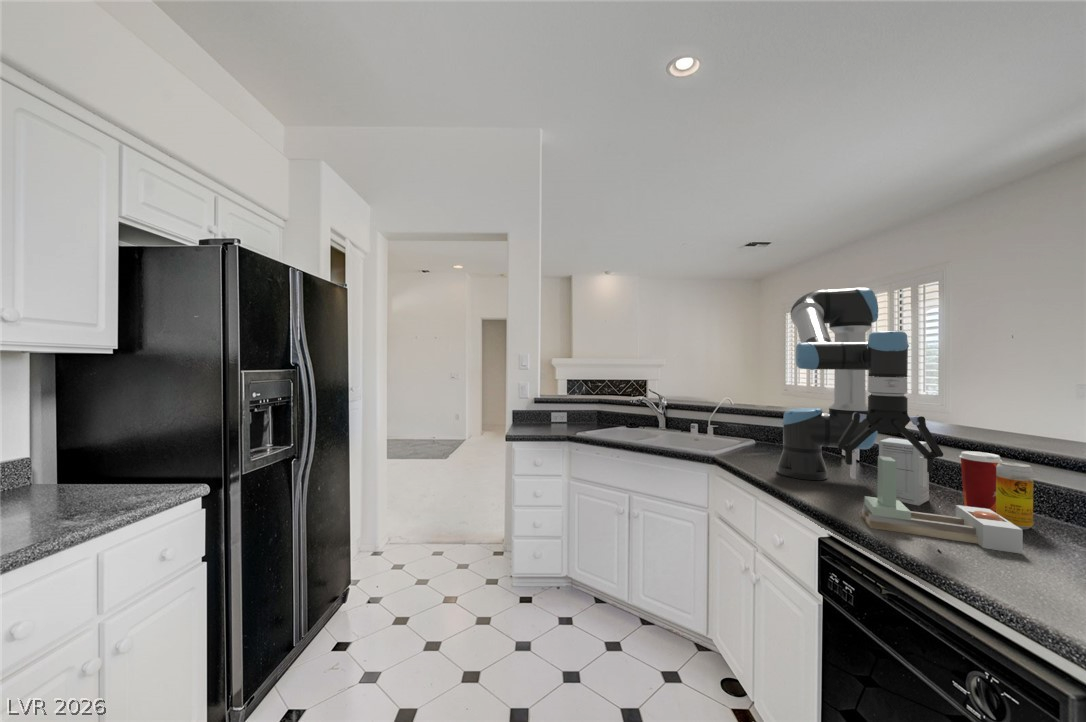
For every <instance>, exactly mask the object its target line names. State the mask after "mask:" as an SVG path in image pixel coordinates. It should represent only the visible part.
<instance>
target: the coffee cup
mask: <svg viewBox="0 0 1086 722" xmlns="http://www.w3.org/2000/svg"><path fill="white" fill-rule="evenodd" d="M959 458H960V466H961V478H962V479H961V482H962V492H963V493H962V494H963V503H964V504H963V506H968V507H977V508H985V509H990V510H992V511H993V512H995V511H996V466H997V465H998V463H999V462H1004V461H1003V460H1002V458H1001V456H1000V455H999V454H995V453H991V452H990V453H989V452H984V451H983V452H982V451H975V450H974V451H973V450H972V451H971V450H965V451H964V450H963V451H961V453H960V454H959ZM995 513H996V512H995Z"/></svg>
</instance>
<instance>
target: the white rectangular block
mask: <svg viewBox="0 0 1086 722" xmlns="http://www.w3.org/2000/svg"><path fill="white" fill-rule="evenodd" d="M974 511H983V512H989V513H993V514H996V515H998V514H997V513H996V512H993V511H992V510H990V509H985V508H977V507H968V506H965V505H960V504H955V517H960V518H963V519H964V525H965V526H973V527H975V528H976V536H978V545H979V546H980V547H982V548H983V549H986V550H987V549H988V550H995V551H1001V552H1008V553H1015V554H1023V544H1024V543H1023V541H1024V540H1023V536H1024V535H1023V533H1024V532H1023V530H1024V529H1020V528H1019V527H1017V526H1016V525H1014V524H1012V523H1011V522H1009V521H1008V520H1006V519H1005V518H1003V517H1001V516H1000V515H998V516H1000V521H995V520H987V519H979V518H976V517H974Z"/></svg>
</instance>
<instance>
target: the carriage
mask: <svg viewBox="0 0 1086 722" xmlns="http://www.w3.org/2000/svg"><path fill="white" fill-rule="evenodd" d="M864 505H866V506H867V508H868V509H869V510H870V512H871V513H872V514H873V515H875V516H883V517H890V518H897V519H905V520H911V510H910V509H909V508H908V507H906V506H905V505H904V504H903V502H900V501H899V500H896V461H895V460H894V459H892V458H891V457H883V456H879V455H878V456H877V497H875V496H874V497H873V496H866V495H864Z"/></svg>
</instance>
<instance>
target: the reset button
mask: <svg viewBox="0 0 1086 722" xmlns="http://www.w3.org/2000/svg"><path fill="white" fill-rule="evenodd" d="M974 517H976V518H979V519H987V520H995V521H1000V516H998V515H996V514H993V513H989V512H983V511H974Z"/></svg>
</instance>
